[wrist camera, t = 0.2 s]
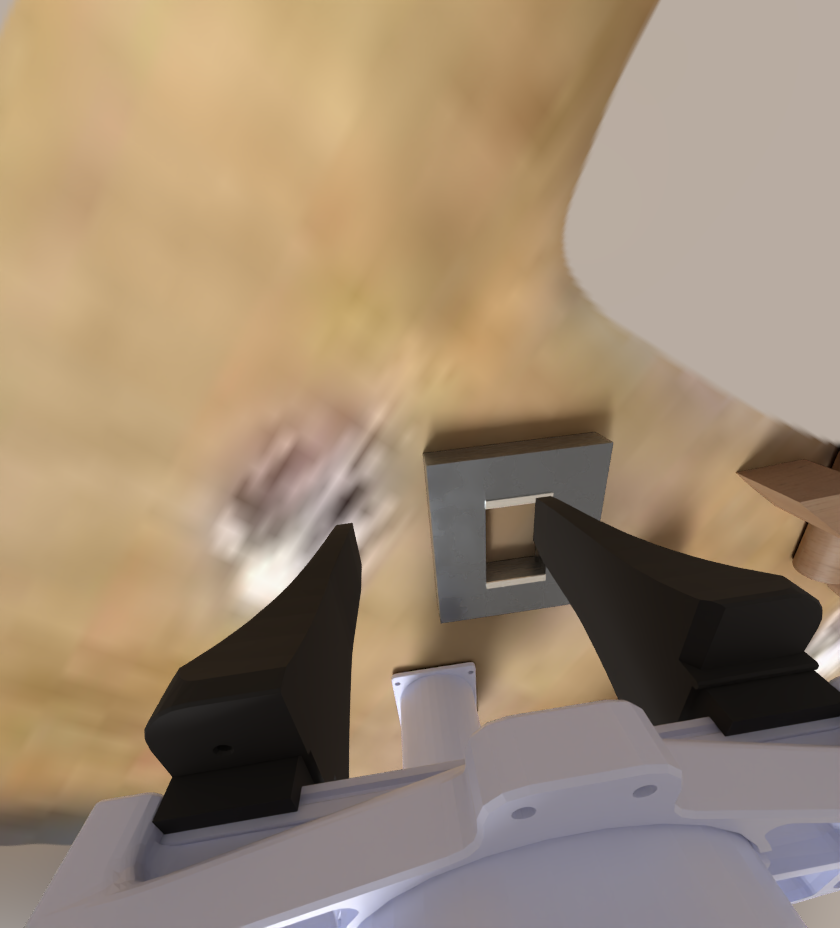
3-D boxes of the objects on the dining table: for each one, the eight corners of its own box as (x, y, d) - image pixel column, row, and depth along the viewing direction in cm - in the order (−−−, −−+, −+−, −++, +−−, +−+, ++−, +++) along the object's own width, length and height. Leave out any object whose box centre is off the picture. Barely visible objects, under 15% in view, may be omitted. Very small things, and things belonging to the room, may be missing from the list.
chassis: (574, 583, 29) (587, 602, 27) (437, 603, 28) (441, 624, 27) (595, 431, 23) (614, 442, 21) (422, 453, 22) (426, 466, 21)
